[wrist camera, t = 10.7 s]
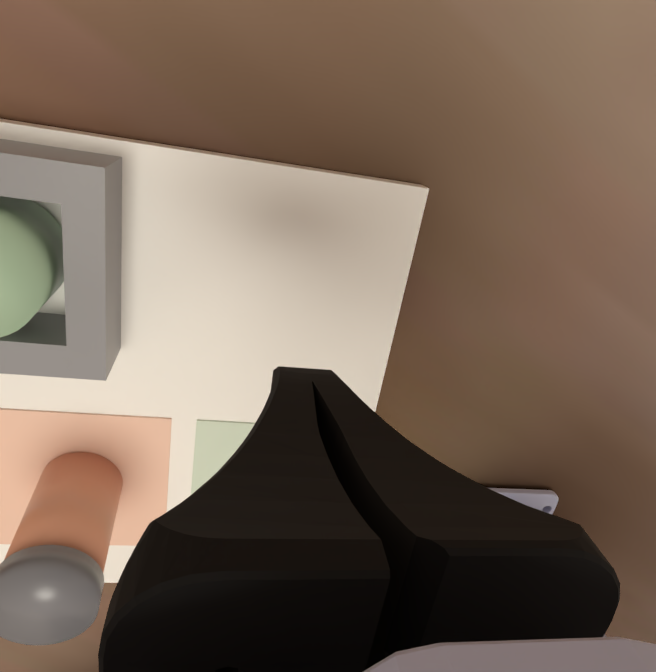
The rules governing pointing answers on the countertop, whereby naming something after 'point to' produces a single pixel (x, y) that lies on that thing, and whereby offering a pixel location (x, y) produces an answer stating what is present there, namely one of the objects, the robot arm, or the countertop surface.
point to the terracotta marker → (60, 551)
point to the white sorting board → (186, 308)
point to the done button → (27, 261)
